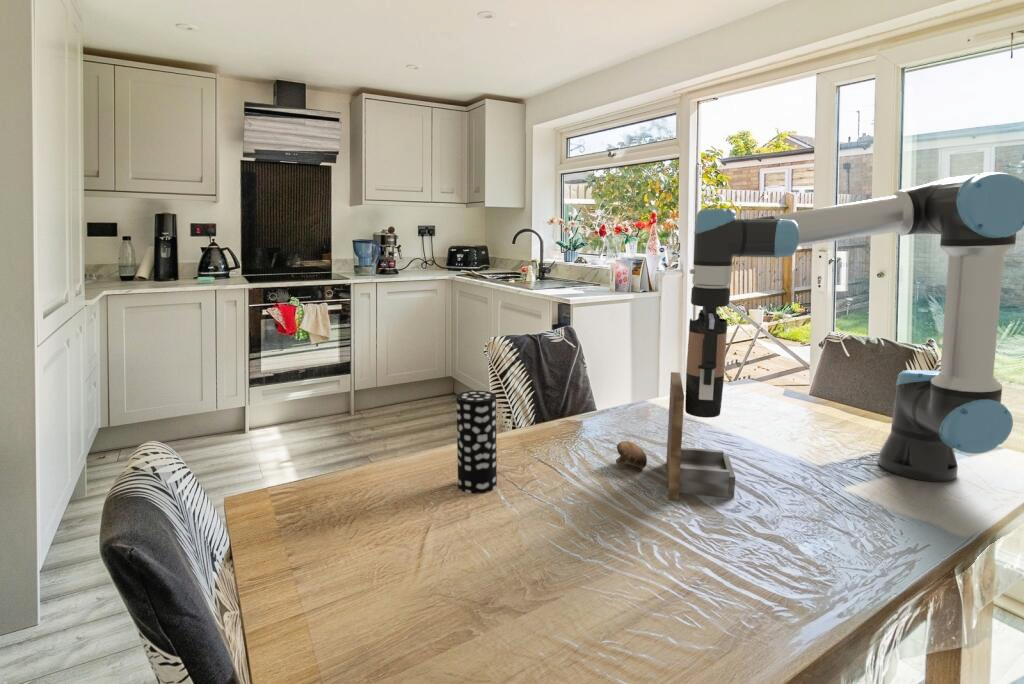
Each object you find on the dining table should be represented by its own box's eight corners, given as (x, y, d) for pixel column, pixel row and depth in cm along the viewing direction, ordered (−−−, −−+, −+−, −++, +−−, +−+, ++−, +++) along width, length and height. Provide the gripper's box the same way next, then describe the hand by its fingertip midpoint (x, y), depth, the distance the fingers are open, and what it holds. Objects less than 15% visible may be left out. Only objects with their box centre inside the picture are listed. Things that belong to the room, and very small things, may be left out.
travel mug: (723, 419, 126) (730, 323, 123) (685, 416, 128) (690, 321, 124) (719, 408, 134) (725, 317, 130) (682, 406, 135) (687, 316, 131)
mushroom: (604, 456, 140) (621, 434, 140) (611, 457, 148) (627, 436, 148) (632, 479, 137) (649, 456, 137) (638, 479, 145) (654, 458, 144)
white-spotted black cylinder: (503, 481, 135) (502, 393, 131) (485, 496, 127) (484, 403, 123) (469, 475, 138) (468, 388, 134) (450, 489, 131) (449, 398, 127)
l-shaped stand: (725, 467, 142) (731, 375, 138) (736, 505, 123) (744, 399, 119) (666, 462, 145) (671, 372, 141) (668, 499, 126) (673, 395, 122)
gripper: (689, 281, 136) (683, 380, 141) (695, 290, 117) (688, 406, 121) (724, 281, 135) (717, 382, 139) (736, 292, 115) (728, 409, 119)
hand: (704, 393), depth 130 cm, fingers closed on travel mug, 8 cm apart
